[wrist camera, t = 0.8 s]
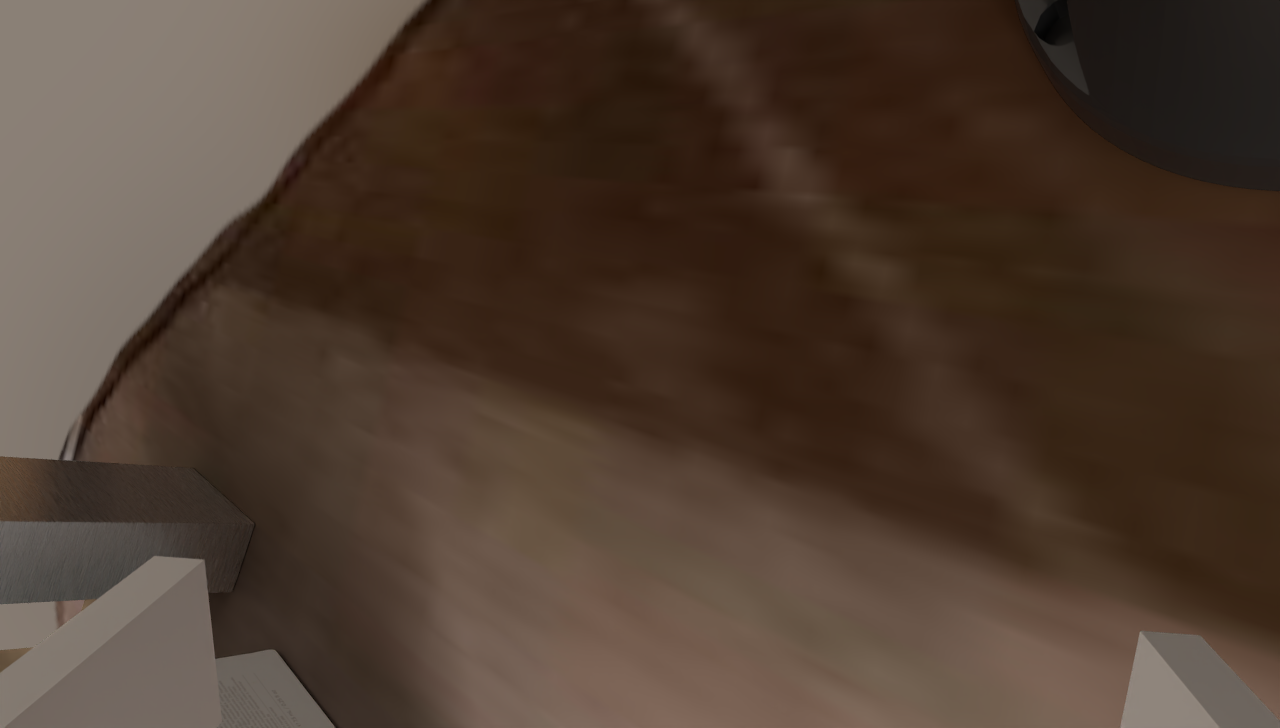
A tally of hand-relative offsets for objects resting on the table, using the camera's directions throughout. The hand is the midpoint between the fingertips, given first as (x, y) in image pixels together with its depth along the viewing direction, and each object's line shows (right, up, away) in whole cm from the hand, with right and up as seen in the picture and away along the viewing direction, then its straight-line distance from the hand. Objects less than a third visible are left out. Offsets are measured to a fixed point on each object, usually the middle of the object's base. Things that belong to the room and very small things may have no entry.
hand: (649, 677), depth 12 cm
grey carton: (-25, -5, +38) cm, 46 cm away
